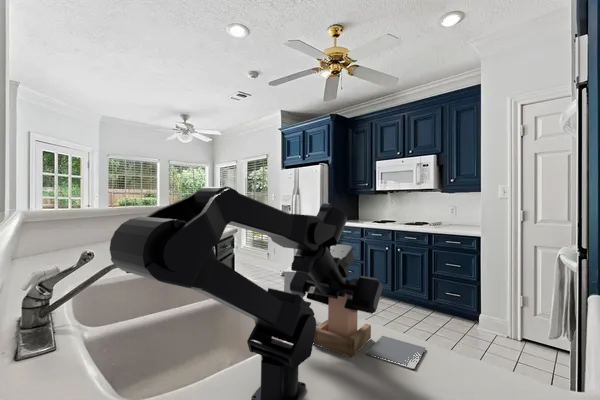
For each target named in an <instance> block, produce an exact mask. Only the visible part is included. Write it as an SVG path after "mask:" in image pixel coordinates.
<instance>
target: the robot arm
mask: <svg viewBox="0 0 600 400" xmlns="http://www.w3.org/2000/svg"><path fill="white" fill-rule="evenodd" d="M318 210H319V211H318V213H317V214H316V215H311V214H301V213H300V214H298V213H289V212H286V211H284V210H281V209H280V208H276V207H274V206H272V205H270V204H267V203H264V202H262V201H260V200H257V199H255V198H252V197H250V196H247V195H245V194H243V193H240V192H238V190H236V189H235V188H232V187H230V186H204V187H201V188H200V189H198V190H196V191H194V192H193V193H191V194H190V195H188V196H187V197H184V198H183V199H180V200H178V201H175V202H174V203H170V204H168V205H166V206H164V207H162V208H158V209H157V210H155V211H154V212H152V213H150V214H148V215H147V216H138V217H133V218H129V219H128V220H126V221H124V222H123V223H121V224H120V225H119V227H118V228H117V229H116V230H115V231H114V233H113V234H112V237H111V238H110V242H109V243H110V244H109V254H110V261H111V263H112V264H113V265H114V266H115V267H116V268H118V269H119V270H120V271H123V272H126V273H130V274H133V275H136V276H139V277H144V278H147V279H150V280H154V281H157V282H161V283H165V284H169V285H173V286H178V287H182V288H187V289H191V290H193V291H195V292H197V293H199V294H202V295H204V296H205V297H208V298H209V299H212V300H214V301H216V302H217V303H220V304H222V305H224V306H226V307H228V308H230V309H232V310H234V311H236V312H238V313H240V314H243V315H244V316H247V317H248V318H250V319H252V320H254V327H253V329H252V331H251V332H250V335H249V337H248V339H247V342H246V343H247V347H248V349H249V352H250V353H254V354H257V355H259V356H261V357H260V358H261V359H260V386H259V387H258V388H257V389H256V391H255V392H254V393H253V394H252V396H251V400H300V398H301V396H302V395H303V393H304V392H305V389H306V387H307V384H306V383H305V382H303V381H300V380H299V366H300V365H301V364H303V363H304V362H305V361H306V360H308V359H309V358H310V357H311V355H312V352H313V351H312V350H313V347H314V344H313V341H314V335H315V329H316V327H317V320H316V317H315V312H314V310H313V308H311V307H310V306H311V305H312V302H309V301H306V300H305V299H304V298H305V296H306V299H308V300H310V301H314V302H317V303H318V304H319V303H320V304H323V305H326V306H328V297H330V298H335V299H337V298H338V296H340V297H344V296H345V293H346V295H347V296H348V298H347V301H346V303H345V306H344V308H346V309H348V310H350V311H353V312H355V313H357V314H358V312H357V311H360V312H365V313H369V314H374V313H376V312H377V310H378V306H379V302H380V298H381V295H382V292H383V289H384V286H383V283H382V282H381V280H380V279H379V278H377V277H376V278H375V277H372V276H371V277H370V276H365V275H361V276H359V277H358V278H351V279H350V280H346V278H349V276H350V271H349V267H350V266H351V265H352V263H354V261H355V257H354V256H355V255H354V252H353V251H354V250H353V248H352V246H351V245H345V244H338V243H339V241H340V239H341V238H340V237H341V235H342V233H343V230H344V228H345V225H346V223H347V222H348V217H347V215H346V213H344V212H343V211H342V210H341V209H338V208H337V207H334V206H333V204H332V203H330V202H329V203H325V202H322V203H321V205H320V207H319V208H318ZM228 225H229V226H233V227H236V228H239V229H244V230H247V231H250V232H254V233H257V234H262V235H265V236H268V237H269V238H271V241H272V242H273V243H275V244H277V245H278V246H280V247H282V248H286V249H293V250H294V249H295V250H296V252H295V255H294V256H293V260H292V262H291V266H290V267H291V270H292V271H296V272H295V274H294V276H293V278H292V280H291V282H290V291H291V292H292V293H289V292H285V291H284V290H280V289H276V288H275V289H274V288H271V287H268V288H267V290H266V289H264V287H261V286H260V285H258V284H256V283H255V282H254V281H252V280H251V279H249V278H247V277H245V276H244V275H242V273H239V271H236V270H235V269H233V268H232V267H230V266H228V265H227V264H226V263H223V262H222V261H220V260H219V258H217V256H216V253H215V250H214V247H215V246H217V245H218V243H219V242H220V241H221V238H222V236H223V234H224V232H225V229H226V228H227V226H228ZM302 297H303V298H302Z"/></svg>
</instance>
